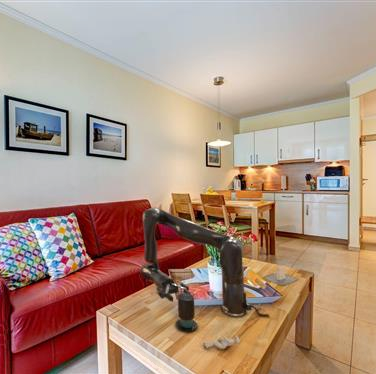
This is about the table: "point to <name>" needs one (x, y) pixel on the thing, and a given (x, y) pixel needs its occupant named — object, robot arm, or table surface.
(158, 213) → the robot arm
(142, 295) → the table surface
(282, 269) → the architectural model
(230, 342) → the soldier figure
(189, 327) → the green post with base
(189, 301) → the black cylinder
